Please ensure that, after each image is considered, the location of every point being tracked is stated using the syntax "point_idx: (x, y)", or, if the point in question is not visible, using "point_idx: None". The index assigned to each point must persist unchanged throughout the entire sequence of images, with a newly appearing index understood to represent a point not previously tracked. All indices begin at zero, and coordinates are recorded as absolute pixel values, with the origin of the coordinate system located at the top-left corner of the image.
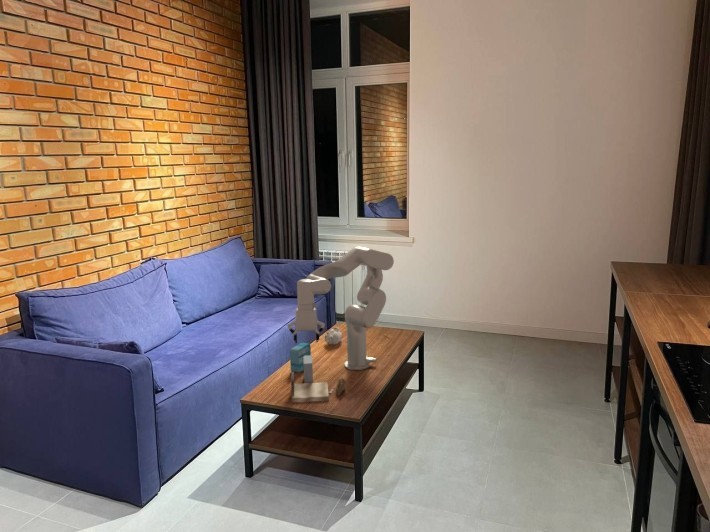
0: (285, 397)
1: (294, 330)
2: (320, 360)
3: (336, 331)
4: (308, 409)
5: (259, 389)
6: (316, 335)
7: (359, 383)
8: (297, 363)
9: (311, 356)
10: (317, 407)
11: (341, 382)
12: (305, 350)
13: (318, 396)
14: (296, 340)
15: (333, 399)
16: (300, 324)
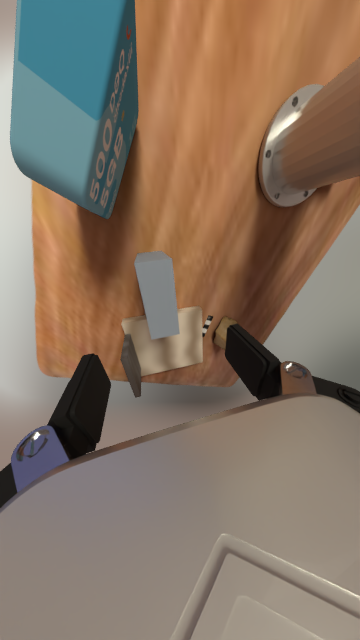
0: None
1: (28, 479)
2: (173, 31)
3: None
4: (170, 382)
5: (38, 331)
6: (252, 391)
7: (261, 290)
8: (99, 215)
9: (170, 272)
10: (183, 375)
11: None
12: (113, 112)
13: (185, 365)
14: (104, 399)
15: (207, 352)
16: None
